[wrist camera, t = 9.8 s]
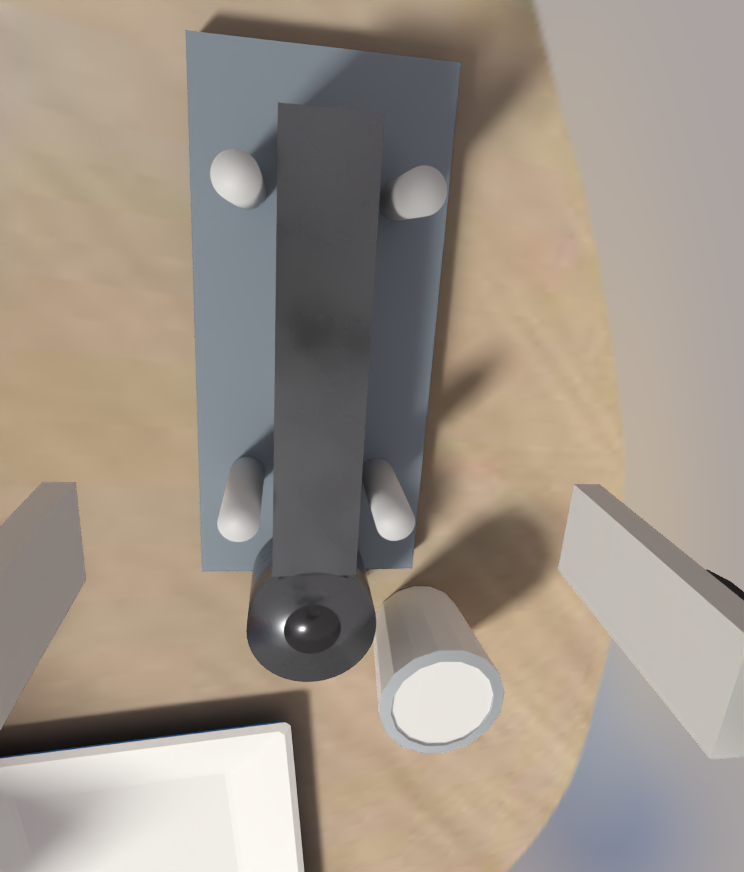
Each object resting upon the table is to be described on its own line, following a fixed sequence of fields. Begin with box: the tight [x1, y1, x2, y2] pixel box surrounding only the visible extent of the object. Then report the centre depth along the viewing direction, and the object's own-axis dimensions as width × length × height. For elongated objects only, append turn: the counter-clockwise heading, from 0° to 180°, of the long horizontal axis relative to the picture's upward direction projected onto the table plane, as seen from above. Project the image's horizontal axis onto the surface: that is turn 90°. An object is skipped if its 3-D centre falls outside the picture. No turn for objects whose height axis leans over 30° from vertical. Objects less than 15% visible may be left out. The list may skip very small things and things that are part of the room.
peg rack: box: [186, 30, 461, 572], centre depth 27 cm, size 26×12×8 cm, turn 176°
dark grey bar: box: [247, 102, 385, 682], centre depth 28 cm, size 26×6×5 cm, turn 176°
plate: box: [0, 721, 304, 872], centre depth 40 cm, size 22×22×2 cm
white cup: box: [373, 586, 504, 753], centre depth 34 cm, size 7×7×7 cm
